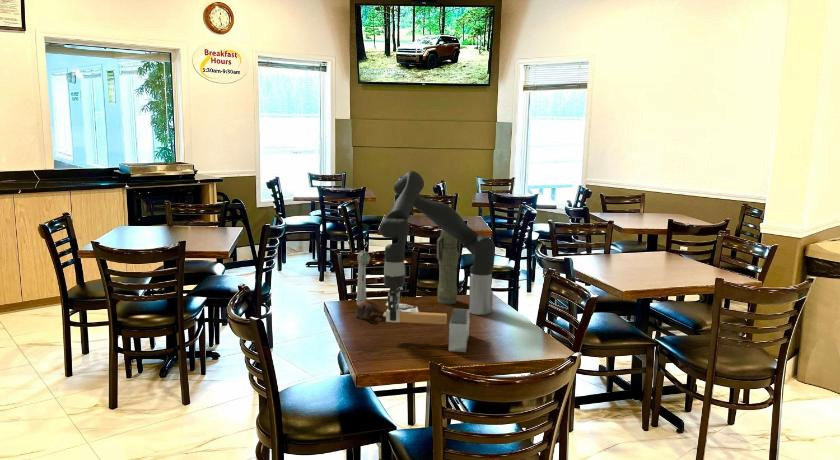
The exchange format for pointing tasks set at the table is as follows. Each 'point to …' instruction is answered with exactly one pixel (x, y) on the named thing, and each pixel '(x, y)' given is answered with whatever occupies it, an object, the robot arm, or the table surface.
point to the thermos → (447, 267)
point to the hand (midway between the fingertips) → (394, 318)
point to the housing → (459, 330)
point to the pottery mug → (367, 308)
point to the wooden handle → (417, 317)
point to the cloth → (406, 307)
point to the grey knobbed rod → (362, 276)
